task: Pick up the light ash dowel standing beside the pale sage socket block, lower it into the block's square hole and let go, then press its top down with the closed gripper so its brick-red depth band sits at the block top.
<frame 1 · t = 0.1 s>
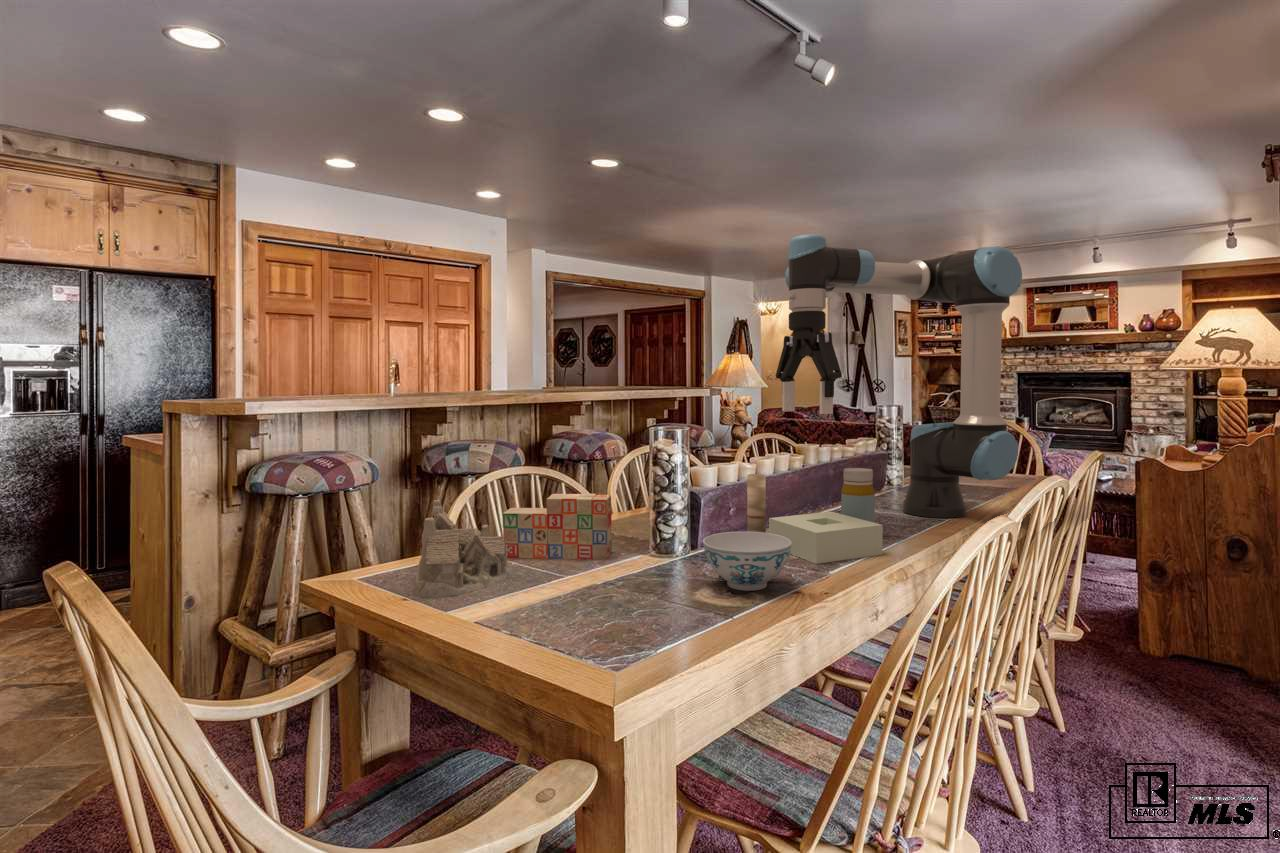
hand: (806, 412, 152), 28 cm above the table, fingers open, 13 cm apart
chinaware: (747, 586, 124), on the table
stack of blocks: (558, 556, 147), on the table
ash dowel: (756, 537, 159), on the table
ceramic cottage: (461, 585, 127), on the table
sage socket block: (824, 550, 147), on the table
bottle: (857, 537, 159), on the table
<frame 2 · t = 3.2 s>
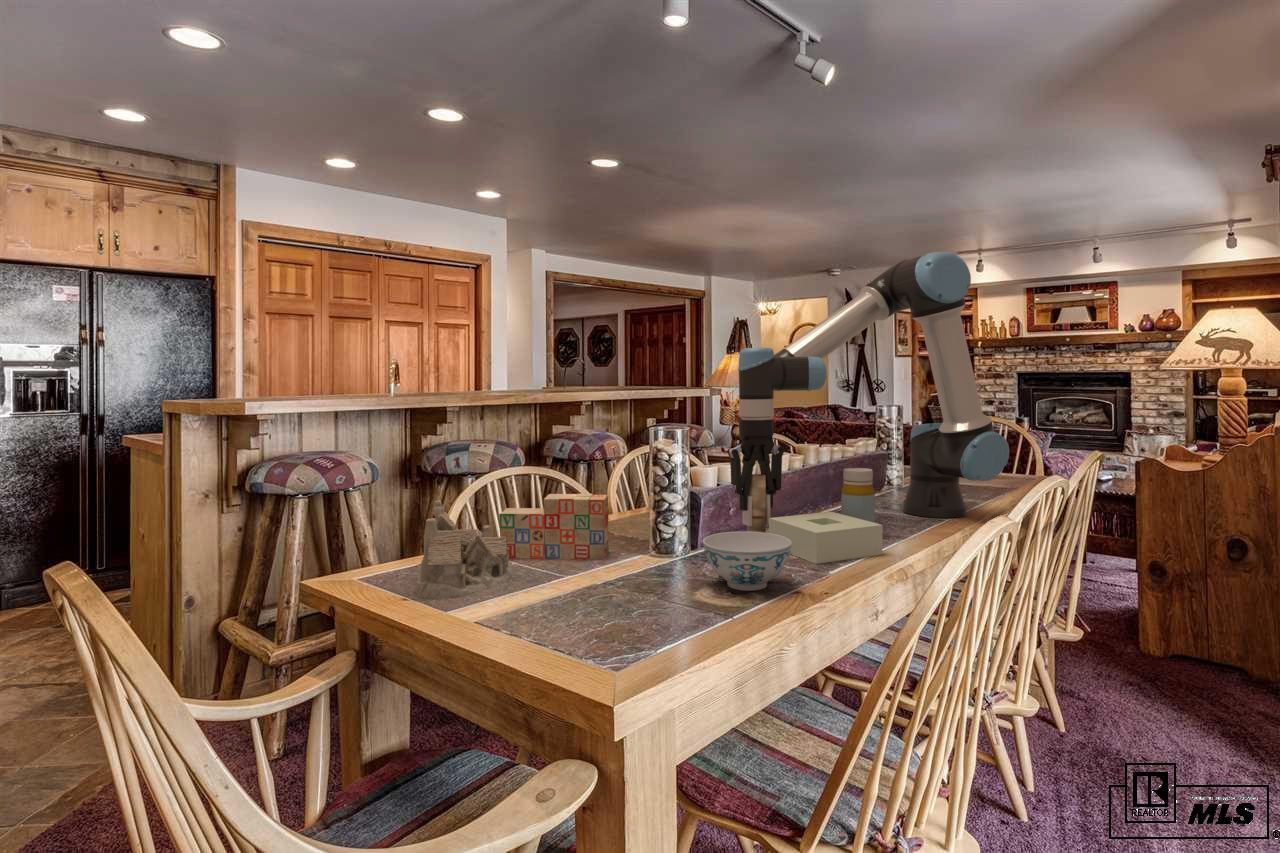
hand: (756, 523, 159), 3 cm above the table, fingers closed on ash dowel, 4 cm apart
ash dowel: (756, 537, 159), on the table, touching gripper
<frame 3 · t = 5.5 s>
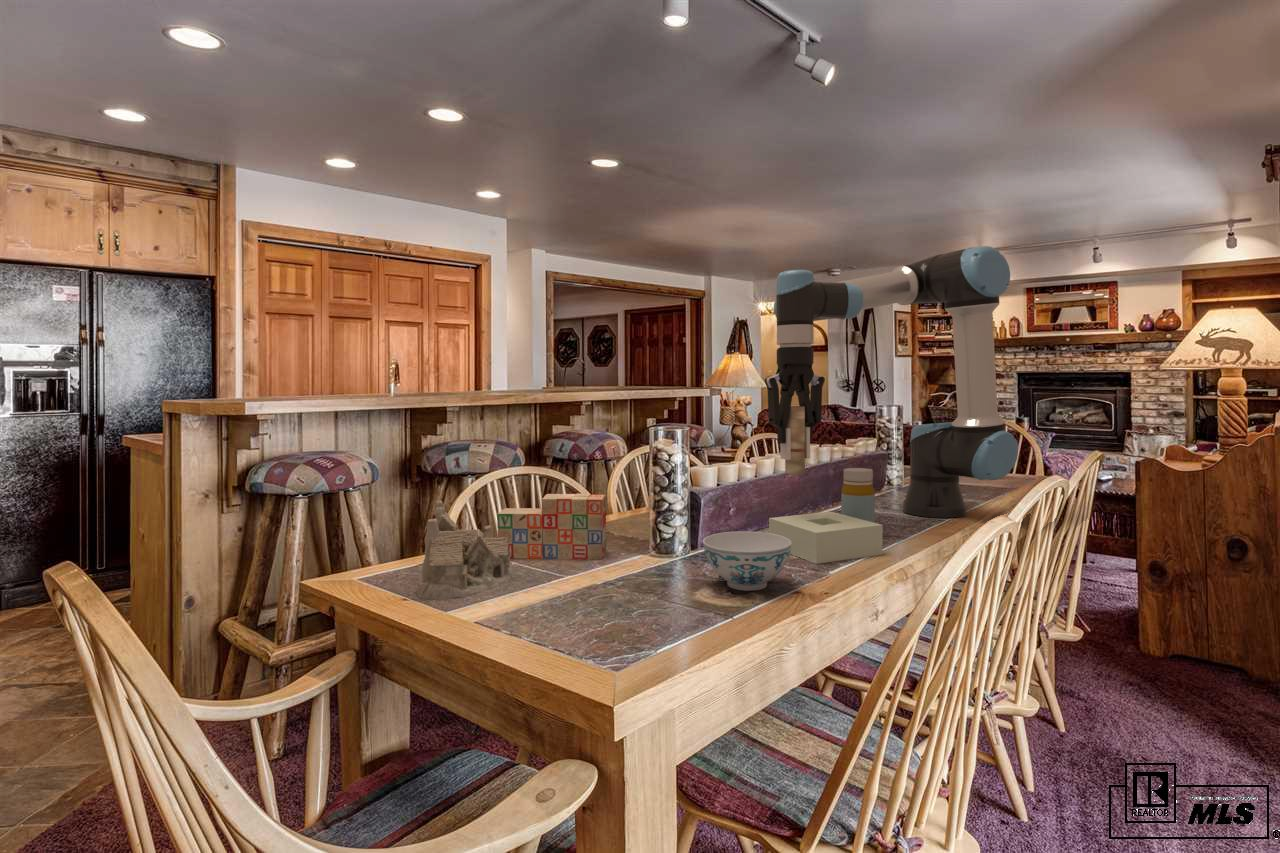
hand: (795, 458, 151), 18 cm above the table, fingers closed on ash dowel, 4 cm apart
ash dowel: (795, 473, 151), point 15 cm above the table, touching gripper
when the fingers open (7 cm above the table, at t = 7.8 s): ash dowel drops 3 cm, resting on sage socket block.
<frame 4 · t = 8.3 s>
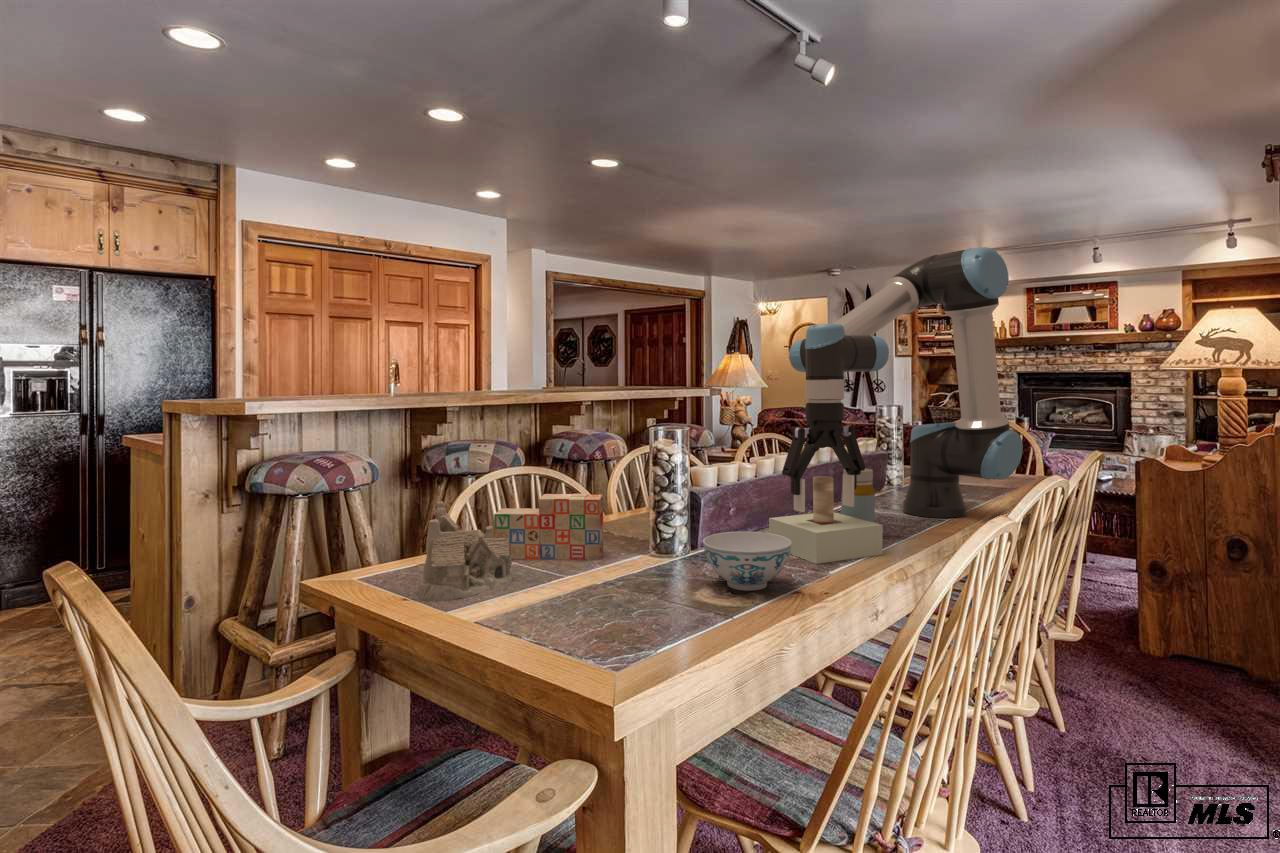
hand: (824, 508, 146), 9 cm above the table, fingers open, 11 cm apart
ash dowel: (823, 545, 147), point 1 cm above the table, touching sage socket block
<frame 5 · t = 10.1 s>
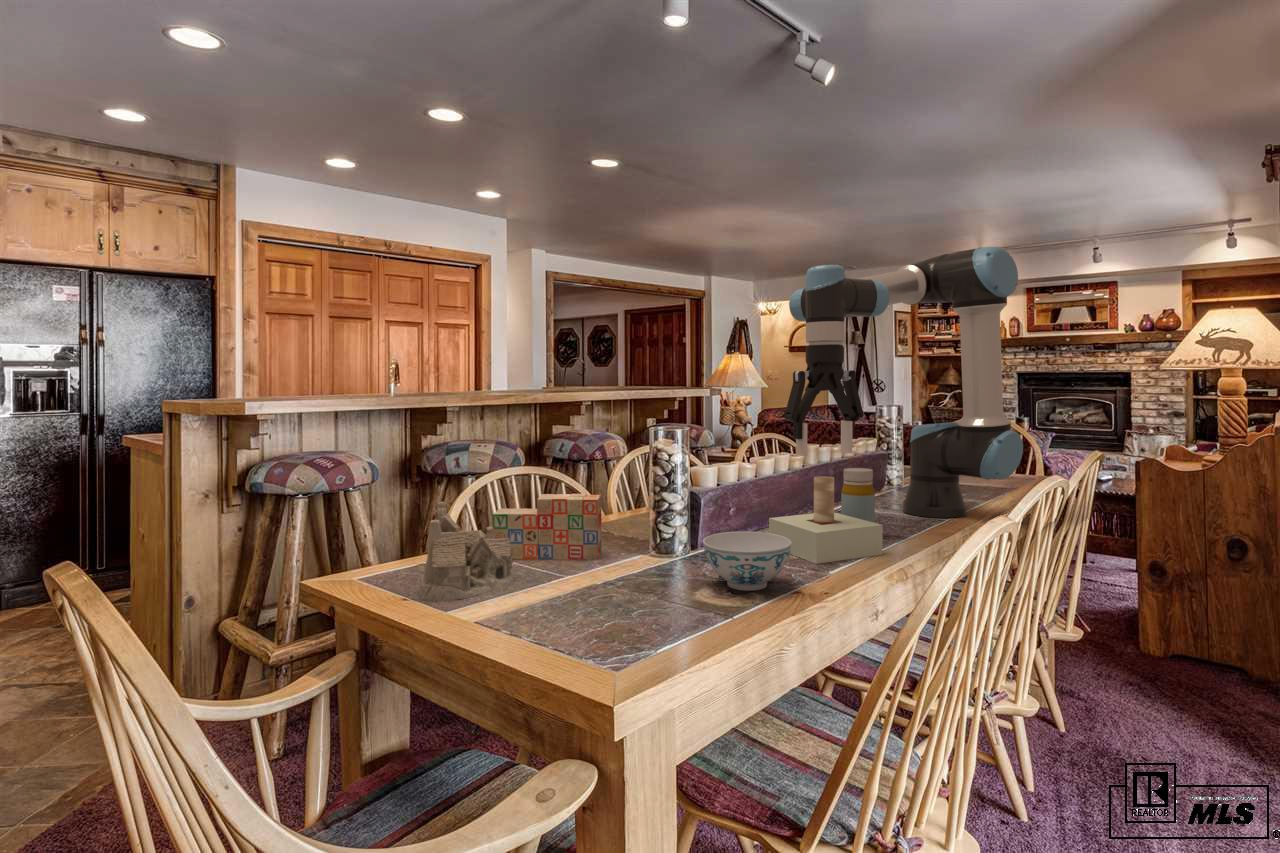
hand: (824, 454, 146), 20 cm above the table, fingers open, 10 cm apart
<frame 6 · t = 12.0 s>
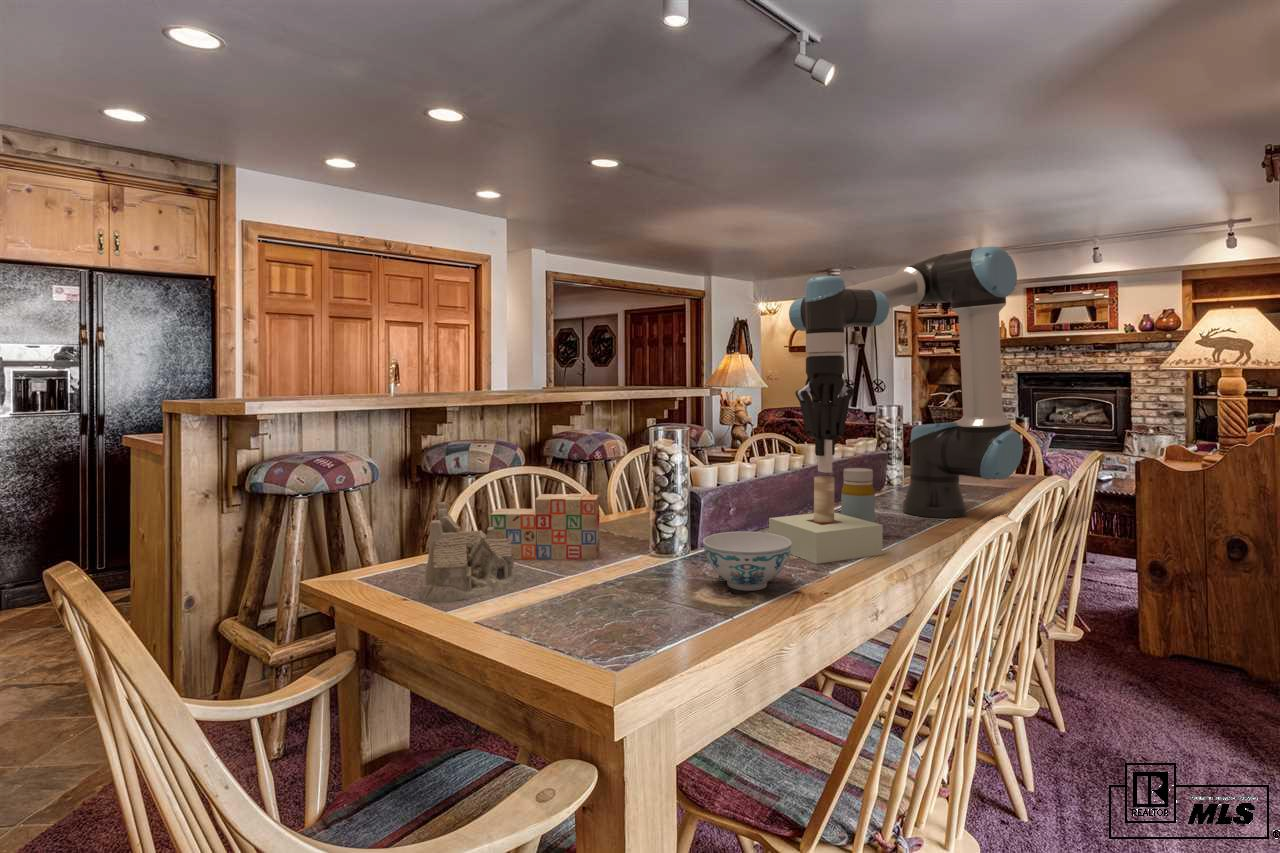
hand: (824, 471, 146), 16 cm above the table, fingers closed
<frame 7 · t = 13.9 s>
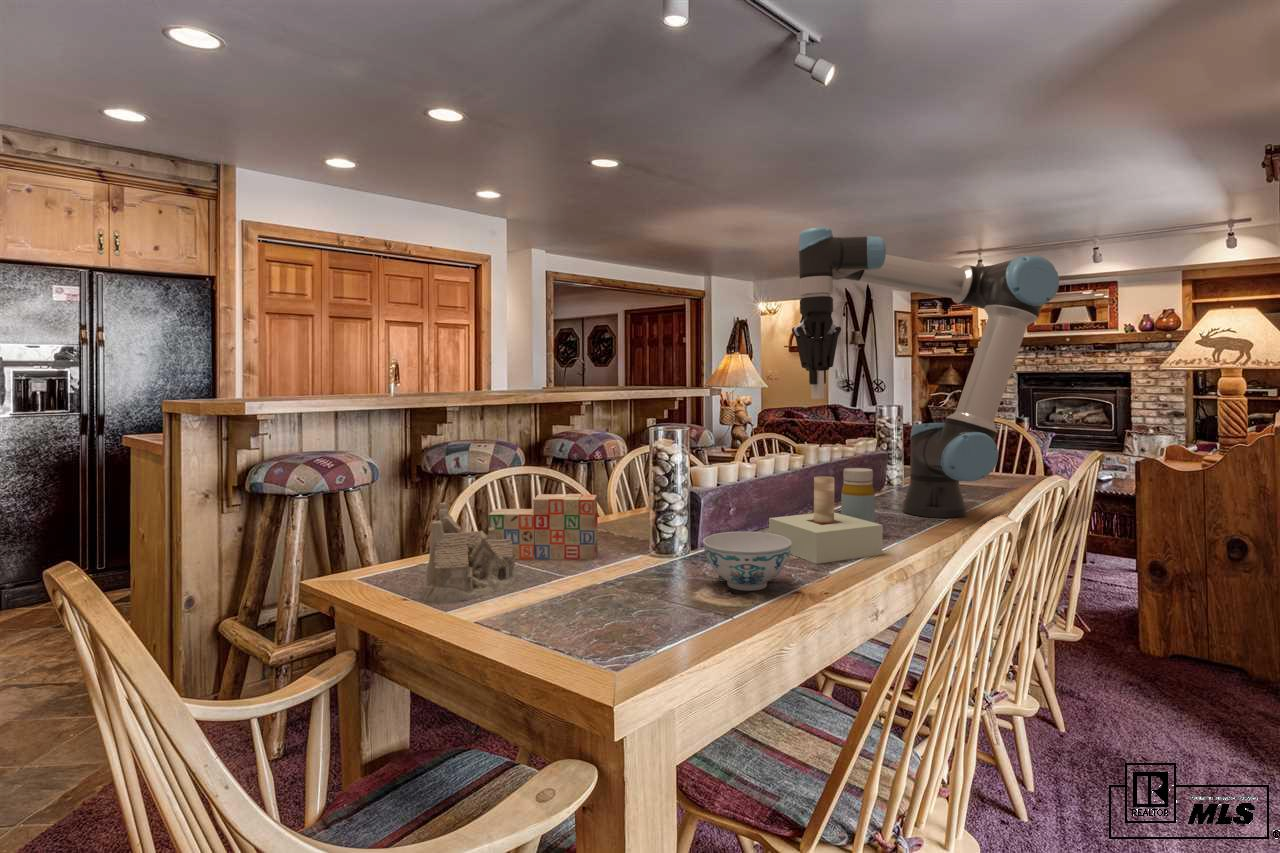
hand: (817, 398, 168), 30 cm above the table, fingers closed
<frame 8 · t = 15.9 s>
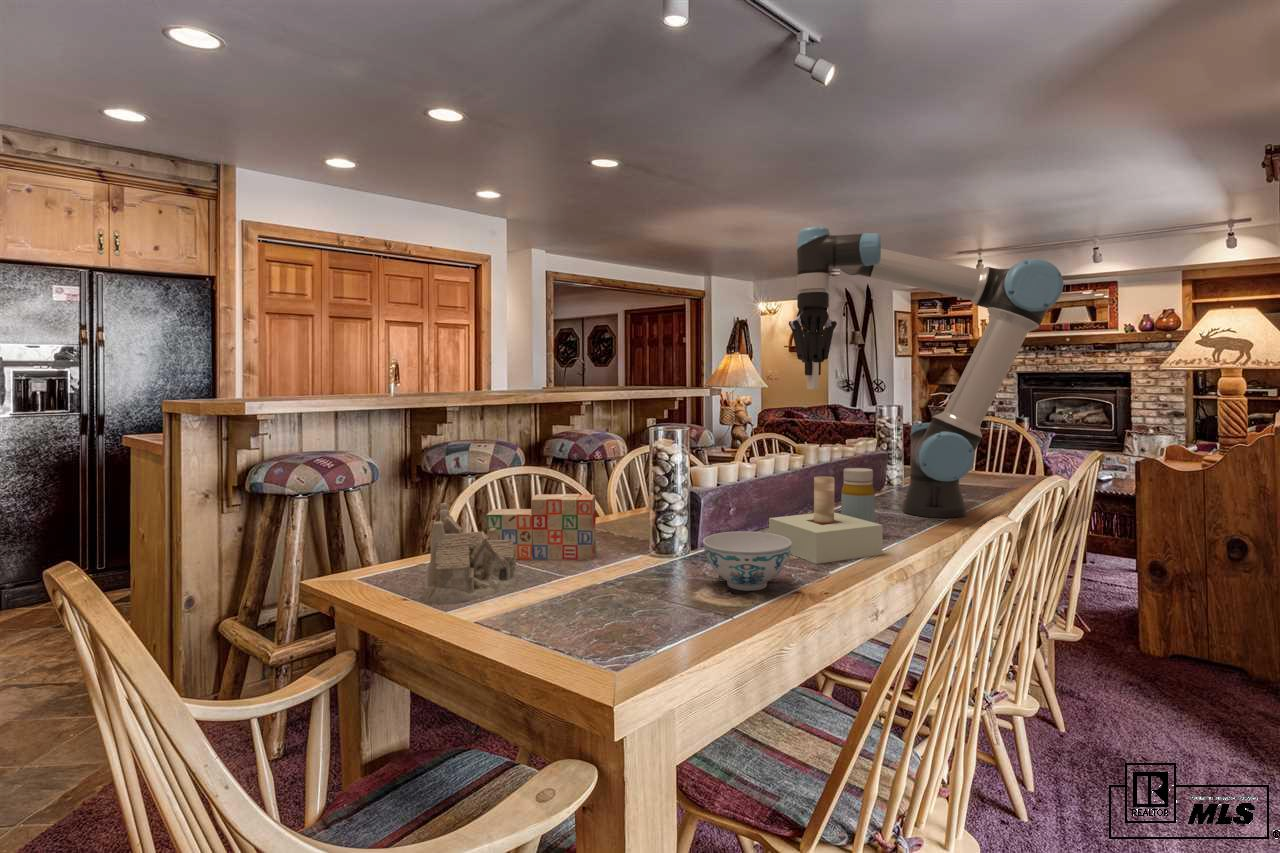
hand: (812, 388, 178), 32 cm above the table, fingers closed
at the end: ash dowel 0.1 cm off-centre on the sage socket block, point 1.0 cm above the sage socket block's base; ash dowel tilted 0°; the gripper is holding nothing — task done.
